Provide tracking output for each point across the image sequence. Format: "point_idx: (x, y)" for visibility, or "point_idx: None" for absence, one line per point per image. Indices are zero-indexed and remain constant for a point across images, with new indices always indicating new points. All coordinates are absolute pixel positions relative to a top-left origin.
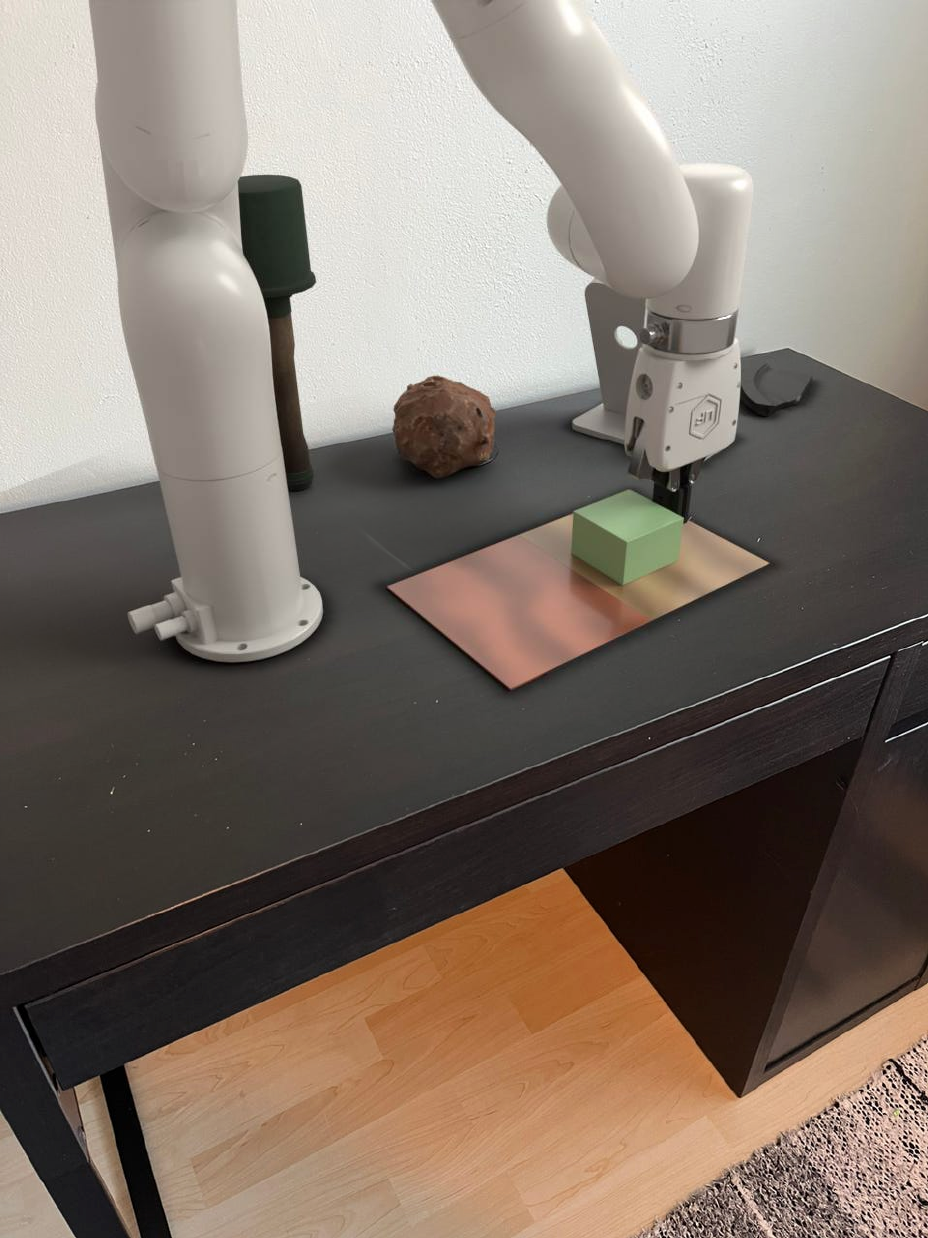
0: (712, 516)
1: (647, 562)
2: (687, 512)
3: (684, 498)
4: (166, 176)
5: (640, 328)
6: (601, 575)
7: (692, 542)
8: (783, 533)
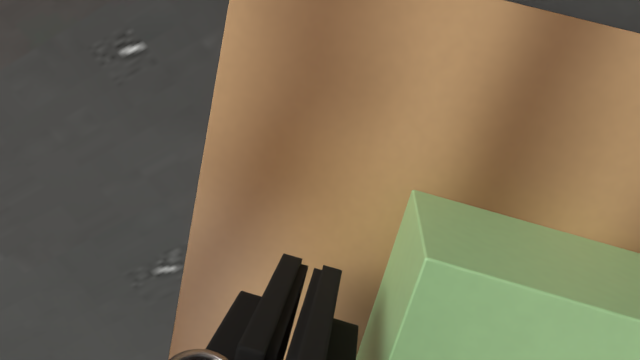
0: (113, 224)
1: (576, 249)
2: (281, 274)
3: (284, 325)
4: None
5: None
6: None
7: (287, 202)
8: (44, 2)
